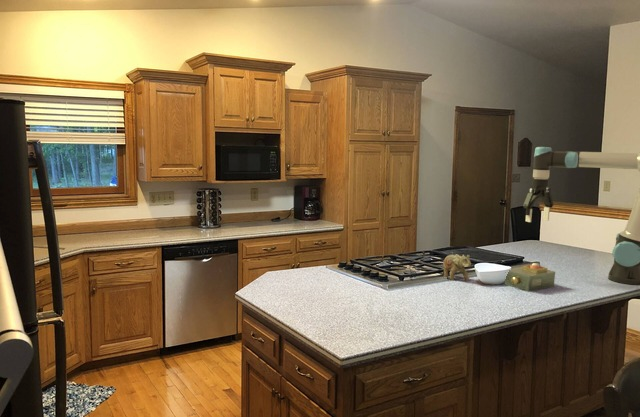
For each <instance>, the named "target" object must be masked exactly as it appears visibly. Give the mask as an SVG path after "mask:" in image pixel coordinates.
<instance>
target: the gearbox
mask: <svg viewBox="0 0 640 417" xmlns="http://www.w3.org/2000/svg"><path fill="white" fill-rule="evenodd" d="M530 265H531V264H527V265H522V266H520V267H519V266H518V267H515V268H514V267H513V268H510V269H511V270H509V272H508V274H507V276H506V279H505V278H504V285H506V286H509V287H512V288H515V289H519V290H522V291H526V292H528V293H529V292H533V291H534V292H535V291H539V290H544V289H548V288H553V287H555V280H556V271H554V270H551V269H550V270H549V269H548V267H546V266H545V267H544V266H541V265H540V266H541V269H533V268H530Z"/></svg>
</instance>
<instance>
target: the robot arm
mask: <svg viewBox="0 0 640 417" xmlns="http://www.w3.org/2000/svg"><path fill="white" fill-rule="evenodd" d="M532 168H533V170H532V179H531V180H532V181H531V186H532V187H533V188H530V187H529V188H528V191H527V194H526V198H525V200H524V202H523V205H522V207H523V209H525V222H527V223H532V216H533V215H532V214H533V206H534V204H535V202H536V201H537V199H539V198H541V200H542V203H543V204H544V206H543V216H542V217H543V218H542V220H543V221H550V212H551V208H553V206H554V202H553V198H552V193H551V187H549V183H550V182H549V180H550V179H549V178H550V170H551V168H566V169H575V168H598V169H599V168H600V169H622V170H623V169H624V170H625V169H626V170H638V172H640V152H636V153H635V152H607V151H606V152H605V151H604V152H603V151H602V152H600V151H571V150H569V151H568V150H566V151H554V150H553V149H552V147H548V146H537V147H535V149H534V155H533V167H532ZM612 257H613V264H612V266H611V268H610V270H609V273H608V277H607V279H608V280H610V281H612V282H616V283H620V284H625V285H635V286H636V285H640V188H639V190H638V193H637V196H636V197H635V201H634V203H633V205H632V209H631V211H630V215H629V217H628V221H627V222H626V226H625V228H624V230H623V231H620V232H619V233H617V234H616V237H615V245H614V247H613V249H612Z"/></svg>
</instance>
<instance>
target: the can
mask: <svg viewBox="0 0 640 417" xmlns="http://www.w3.org/2000/svg"><path fill="white" fill-rule="evenodd" d="M529 265H530V268H533V269H541V265H540V264H539V263H536V262H534V263H532V264H529Z"/></svg>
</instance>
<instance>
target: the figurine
mask: <svg viewBox="0 0 640 417" xmlns="http://www.w3.org/2000/svg"><path fill="white" fill-rule="evenodd" d="M461 255H462V256H461ZM461 255H459V254H457V253H456V254H449V255H447V256H446V257H445V258H444V259H443V261H442V262H443V263H442V268H443V277H444V276H445V277H447V278H448V277H449V278H448V279H447V280H451V281H454V280H456V279H455V277H454V276H455V273H456V274H457V273H458V272H459V273H461V274H462V275H463V278H464V279H463V280H464V281H466V282H469V281H470V277H469V276H468V275H469V274H468V272H467V270H466V269H465V267H471V266H472V262H471V260H470V257H471V256H470V254H467V255H466V256H465V254H461Z"/></svg>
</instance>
